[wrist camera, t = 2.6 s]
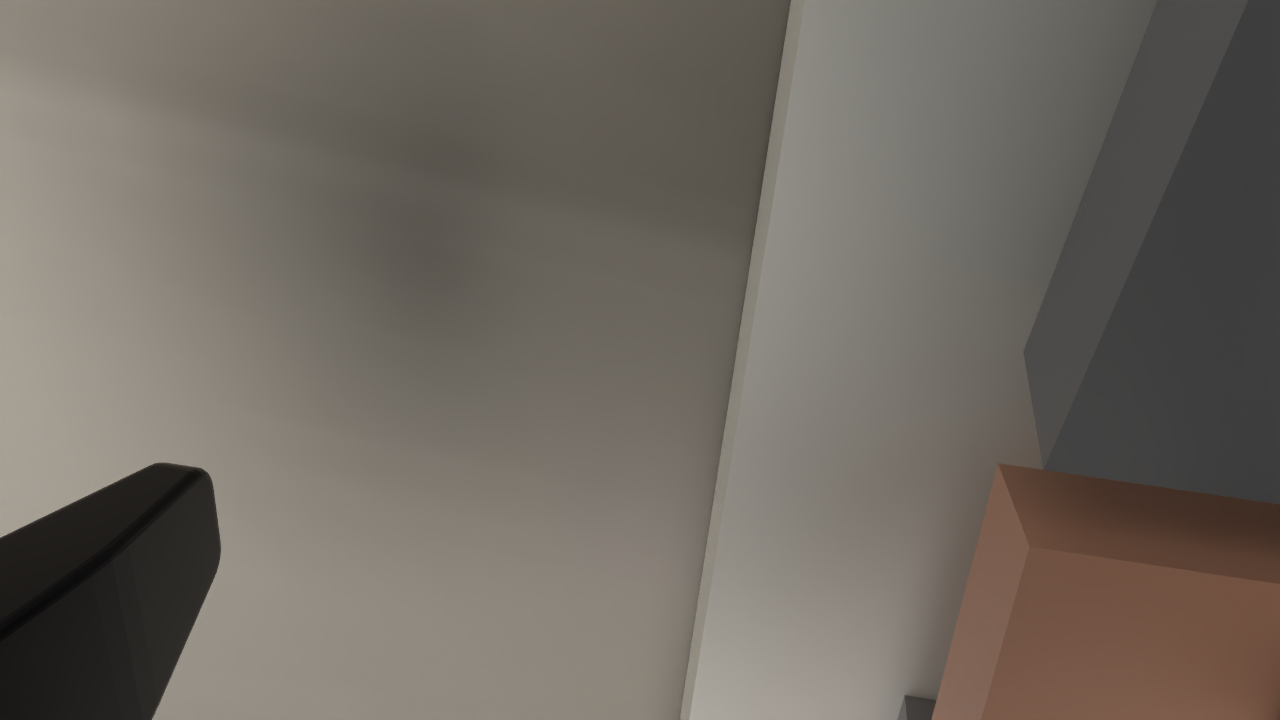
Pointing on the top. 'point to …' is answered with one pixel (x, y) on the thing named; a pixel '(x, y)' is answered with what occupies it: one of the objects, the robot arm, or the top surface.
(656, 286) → the top surface
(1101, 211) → the rocker
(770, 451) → the power strip
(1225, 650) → the rocker
